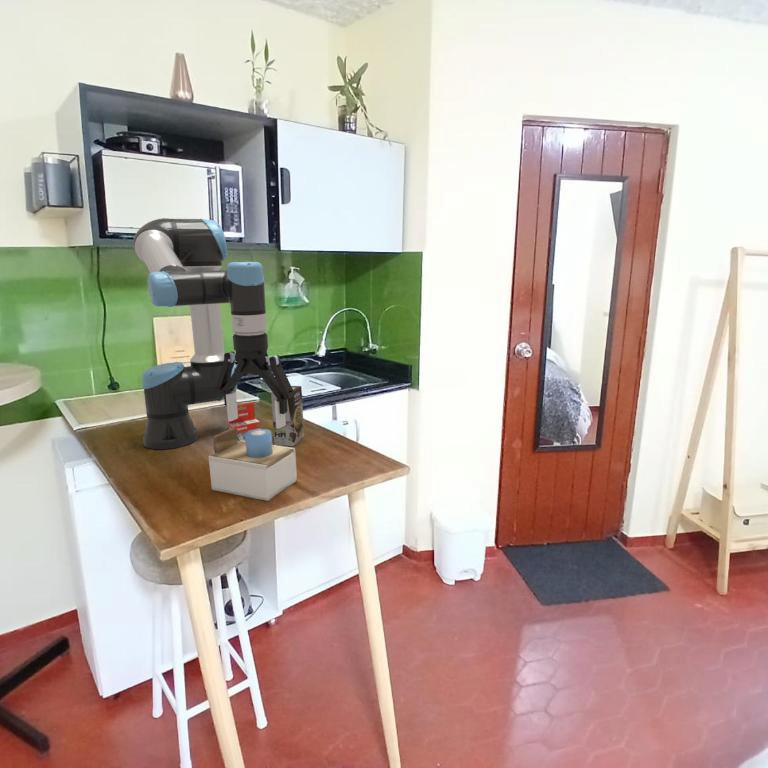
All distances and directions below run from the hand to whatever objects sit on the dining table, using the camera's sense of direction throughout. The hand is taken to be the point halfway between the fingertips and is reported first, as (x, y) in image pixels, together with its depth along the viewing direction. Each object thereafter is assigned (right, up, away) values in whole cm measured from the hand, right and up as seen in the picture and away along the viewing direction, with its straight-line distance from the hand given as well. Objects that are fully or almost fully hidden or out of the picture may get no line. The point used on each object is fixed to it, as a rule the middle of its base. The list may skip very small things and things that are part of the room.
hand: (256, 423), depth 121 cm
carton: (-1, -15, +4) cm, 16 cm away
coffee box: (+1, -8, +35) cm, 36 cm away
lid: (-2, -8, +2) cm, 8 cm away
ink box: (-8, -11, +23) cm, 27 cm away
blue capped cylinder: (0, -7, +1) cm, 7 cm away
